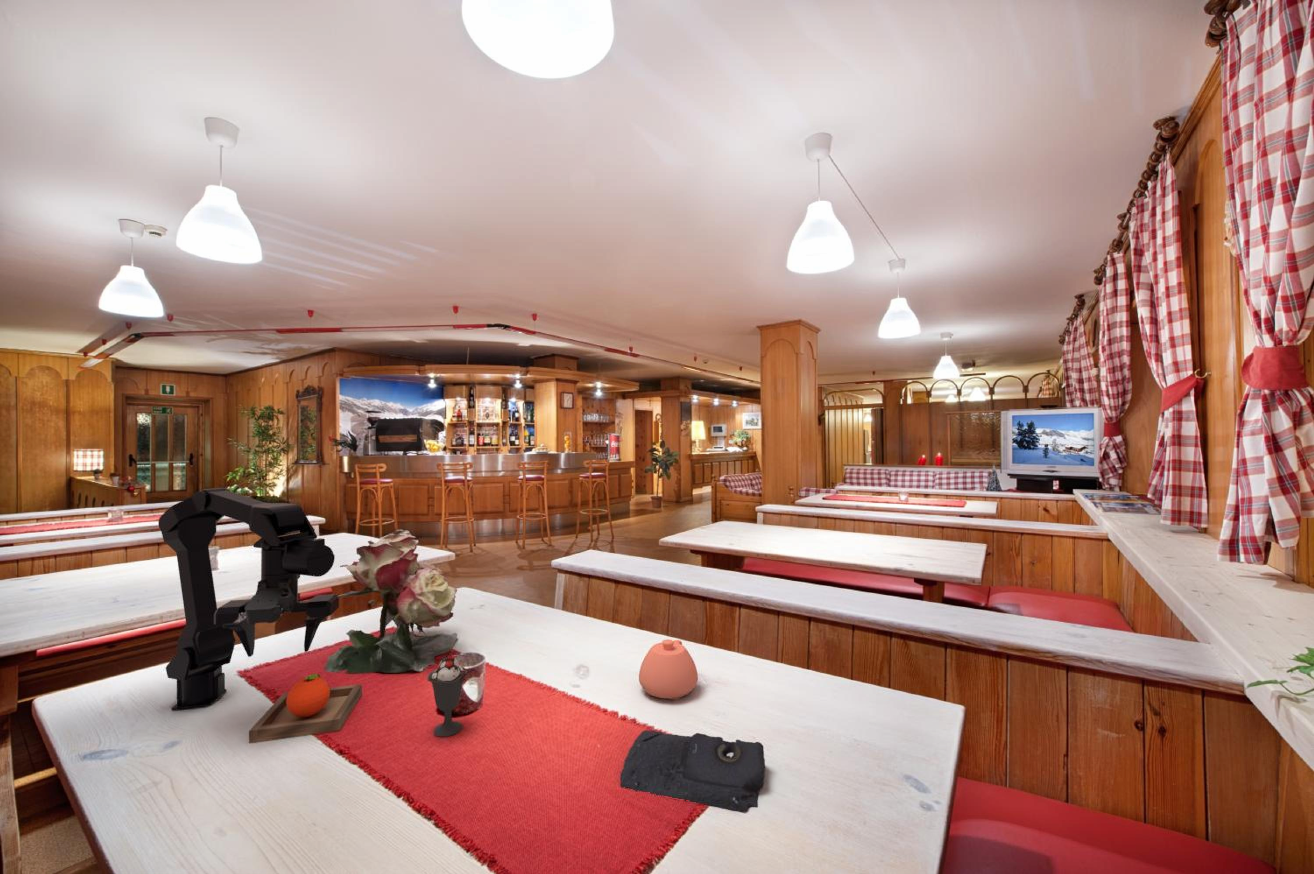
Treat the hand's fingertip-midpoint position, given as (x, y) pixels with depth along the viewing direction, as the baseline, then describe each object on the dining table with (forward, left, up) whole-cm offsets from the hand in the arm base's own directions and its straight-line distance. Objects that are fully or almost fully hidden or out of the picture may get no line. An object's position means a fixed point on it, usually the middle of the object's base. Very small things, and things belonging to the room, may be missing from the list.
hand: (279, 653), depth 99 cm
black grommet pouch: (+71, -37, -13) cm, 81 cm away
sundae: (+32, -14, -12) cm, 37 cm away
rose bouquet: (+17, +27, -12) cm, 34 cm away
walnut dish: (+6, -2, -12) cm, 13 cm away
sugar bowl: (+75, -10, -12) cm, 76 cm away
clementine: (+6, -2, -12) cm, 13 cm away
